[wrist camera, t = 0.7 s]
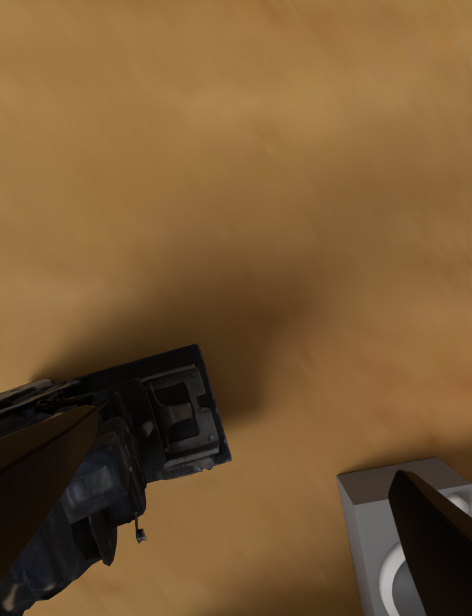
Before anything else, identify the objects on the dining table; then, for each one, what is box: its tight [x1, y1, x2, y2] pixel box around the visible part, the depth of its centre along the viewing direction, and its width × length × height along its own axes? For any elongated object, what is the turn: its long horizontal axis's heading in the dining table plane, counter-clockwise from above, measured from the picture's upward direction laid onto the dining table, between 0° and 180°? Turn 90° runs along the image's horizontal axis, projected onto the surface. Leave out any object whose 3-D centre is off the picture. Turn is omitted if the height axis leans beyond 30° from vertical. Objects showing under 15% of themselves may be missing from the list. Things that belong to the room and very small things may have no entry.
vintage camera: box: [0, 344, 232, 616], centre depth 14 cm, size 10×16×20 cm, turn 106°
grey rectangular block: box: [337, 457, 472, 616], centre depth 21 cm, size 12×8×4 cm, turn 11°
